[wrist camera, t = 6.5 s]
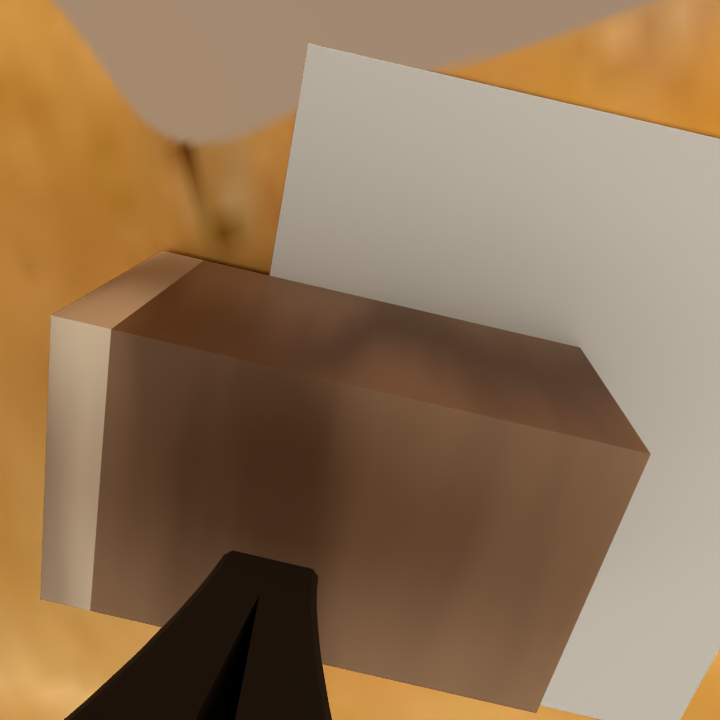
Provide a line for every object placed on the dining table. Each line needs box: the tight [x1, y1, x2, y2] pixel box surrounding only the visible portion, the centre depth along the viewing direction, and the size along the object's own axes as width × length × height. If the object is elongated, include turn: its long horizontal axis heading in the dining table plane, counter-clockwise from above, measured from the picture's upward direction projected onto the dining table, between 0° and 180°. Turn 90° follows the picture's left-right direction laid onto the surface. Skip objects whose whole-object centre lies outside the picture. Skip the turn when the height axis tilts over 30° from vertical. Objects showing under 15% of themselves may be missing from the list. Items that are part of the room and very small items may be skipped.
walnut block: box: [40, 251, 651, 713], centre depth 14 cm, size 5×6×10 cm
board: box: [270, 43, 720, 720], centre depth 17 cm, size 14×16×1 cm
